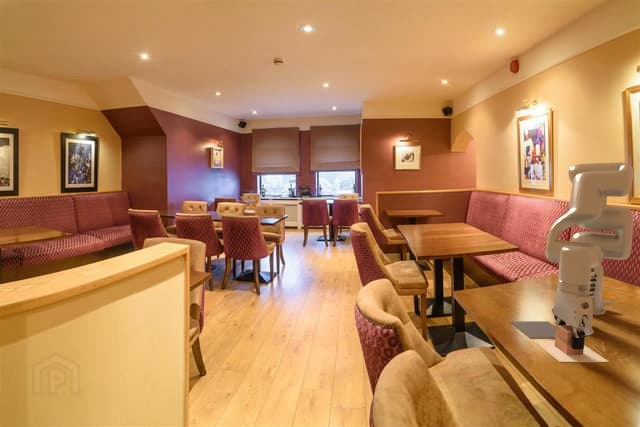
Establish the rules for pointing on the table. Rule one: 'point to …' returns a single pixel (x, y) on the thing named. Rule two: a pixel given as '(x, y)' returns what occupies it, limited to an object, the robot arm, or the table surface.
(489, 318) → the table surface
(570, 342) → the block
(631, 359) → the table surface
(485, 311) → the table surface
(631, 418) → the table surface
